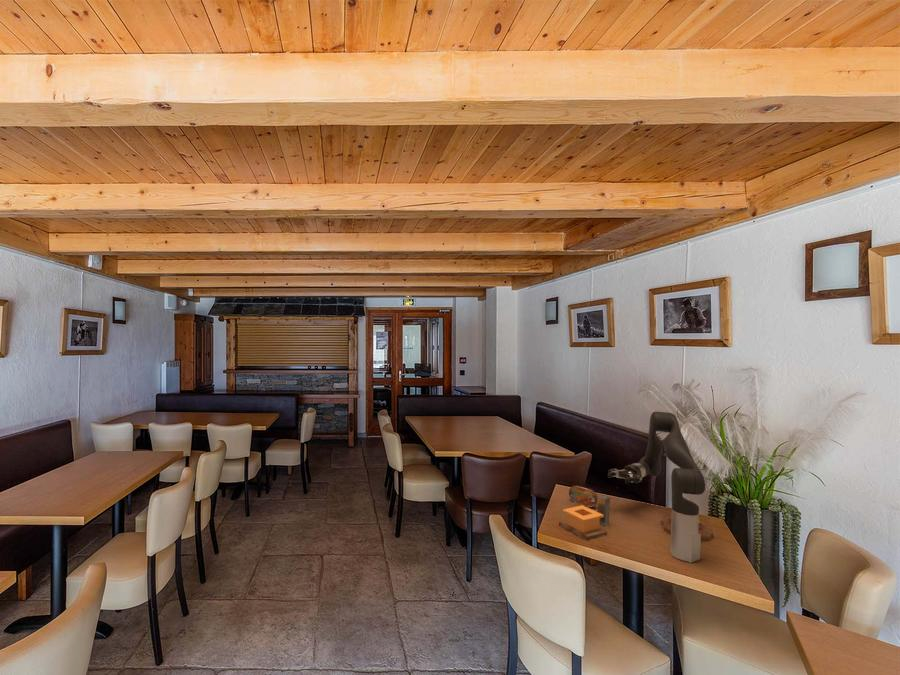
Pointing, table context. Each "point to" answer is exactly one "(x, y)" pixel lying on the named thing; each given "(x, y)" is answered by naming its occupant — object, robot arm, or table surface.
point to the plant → (703, 529)
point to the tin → (583, 496)
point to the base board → (587, 534)
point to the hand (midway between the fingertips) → (617, 478)
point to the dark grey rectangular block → (604, 509)
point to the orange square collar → (583, 518)
